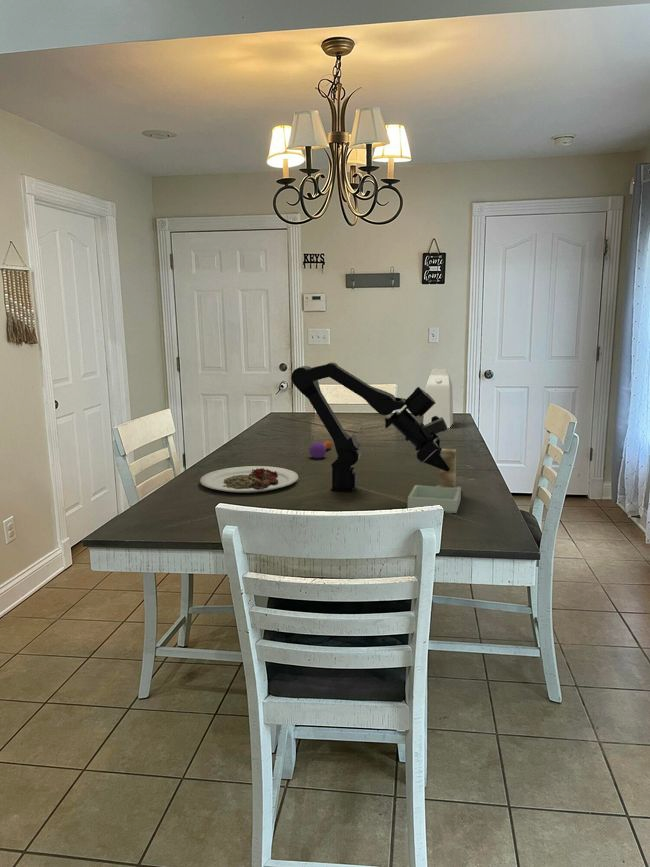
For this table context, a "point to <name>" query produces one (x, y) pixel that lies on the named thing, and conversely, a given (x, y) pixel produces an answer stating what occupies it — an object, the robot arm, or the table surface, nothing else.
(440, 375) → the milk
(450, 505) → the box
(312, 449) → the purple and orange maraca
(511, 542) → the table surface
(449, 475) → the wooden block tower
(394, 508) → the table surface
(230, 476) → the plated food
